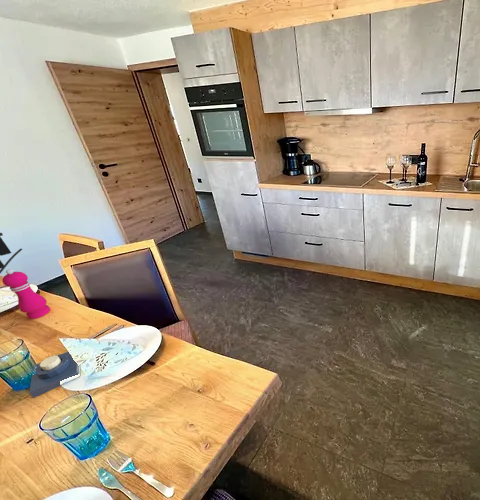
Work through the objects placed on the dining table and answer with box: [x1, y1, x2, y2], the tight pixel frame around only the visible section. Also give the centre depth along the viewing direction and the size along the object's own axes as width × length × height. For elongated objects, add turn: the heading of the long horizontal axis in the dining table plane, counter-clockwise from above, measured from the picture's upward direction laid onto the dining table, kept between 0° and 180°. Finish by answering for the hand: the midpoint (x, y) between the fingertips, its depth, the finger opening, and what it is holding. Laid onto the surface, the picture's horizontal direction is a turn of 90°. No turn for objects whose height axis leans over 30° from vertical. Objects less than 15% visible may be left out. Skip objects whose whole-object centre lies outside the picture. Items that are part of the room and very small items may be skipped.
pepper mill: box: [1, 268, 51, 320], centre depth 106 cm, size 7×7×20 cm
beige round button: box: [39, 355, 61, 371], centre depth 83 cm, size 4×4×2 cm
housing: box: [28, 351, 79, 398], centre depth 85 cm, size 12×10×4 cm
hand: (2, 261), depth 100 cm, fingers open, 13 cm apart
